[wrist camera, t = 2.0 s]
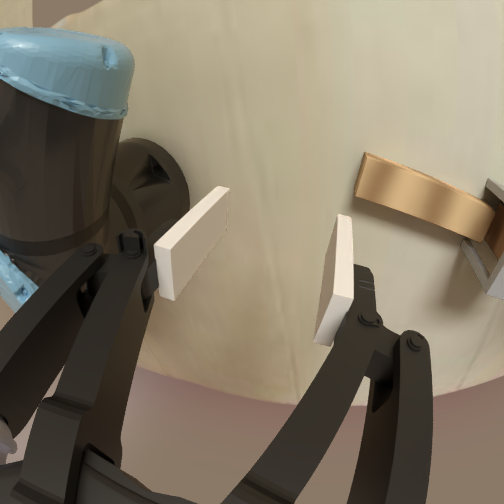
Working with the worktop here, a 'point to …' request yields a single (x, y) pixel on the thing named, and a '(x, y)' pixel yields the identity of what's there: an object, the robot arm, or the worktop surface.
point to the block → (496, 232)
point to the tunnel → (500, 281)
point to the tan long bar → (422, 197)
